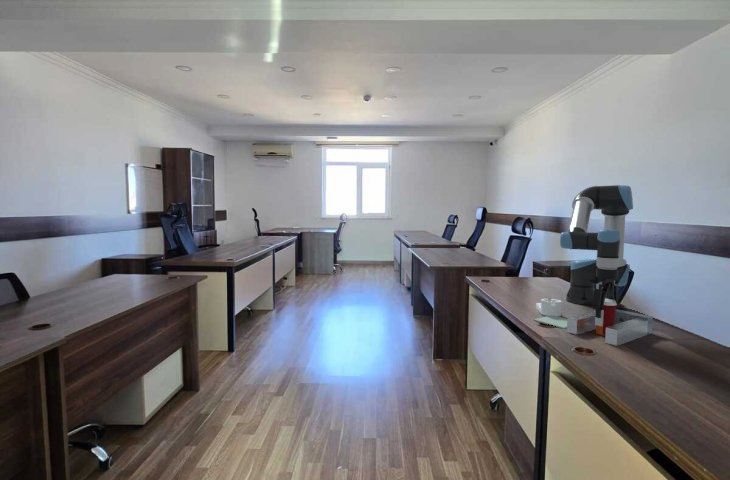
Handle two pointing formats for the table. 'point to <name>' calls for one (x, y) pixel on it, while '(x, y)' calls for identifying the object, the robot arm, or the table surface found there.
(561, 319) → the mat
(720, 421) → the table surface
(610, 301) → the paper cup
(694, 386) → the table surface
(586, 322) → the vise
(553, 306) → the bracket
